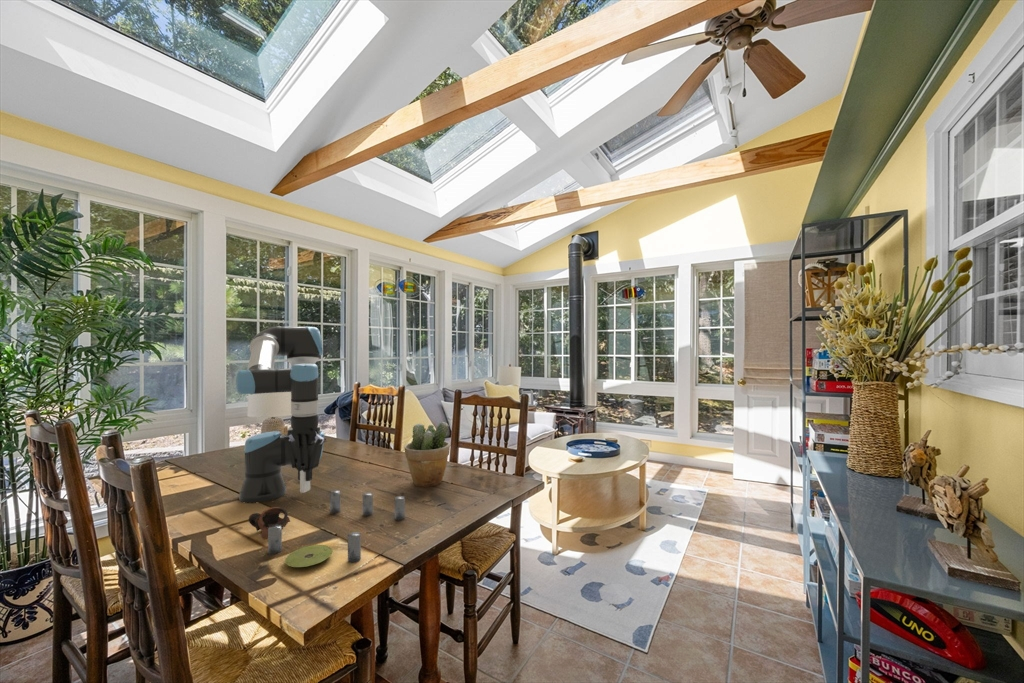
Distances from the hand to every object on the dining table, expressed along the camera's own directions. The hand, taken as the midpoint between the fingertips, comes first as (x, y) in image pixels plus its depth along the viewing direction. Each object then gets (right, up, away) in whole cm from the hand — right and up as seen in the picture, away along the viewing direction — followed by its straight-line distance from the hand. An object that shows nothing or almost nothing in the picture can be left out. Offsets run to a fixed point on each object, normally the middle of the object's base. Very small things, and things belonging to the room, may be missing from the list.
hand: (305, 490), depth 127 cm
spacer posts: (+13, -12, -3) cm, 18 cm away
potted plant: (+29, -12, +42) cm, 52 cm away
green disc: (+11, -12, -19) cm, 25 cm away
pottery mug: (-11, -13, -1) cm, 17 cm away
